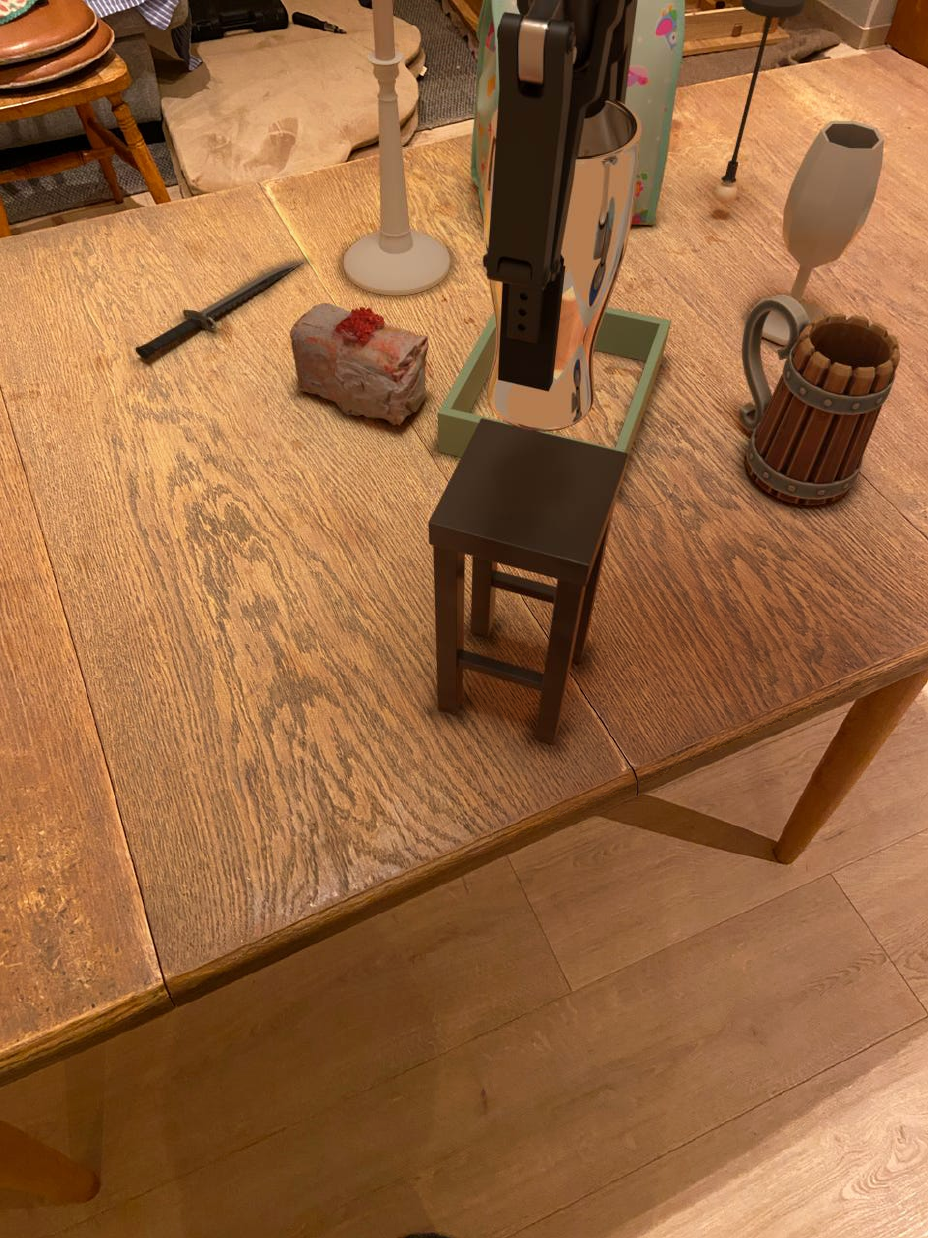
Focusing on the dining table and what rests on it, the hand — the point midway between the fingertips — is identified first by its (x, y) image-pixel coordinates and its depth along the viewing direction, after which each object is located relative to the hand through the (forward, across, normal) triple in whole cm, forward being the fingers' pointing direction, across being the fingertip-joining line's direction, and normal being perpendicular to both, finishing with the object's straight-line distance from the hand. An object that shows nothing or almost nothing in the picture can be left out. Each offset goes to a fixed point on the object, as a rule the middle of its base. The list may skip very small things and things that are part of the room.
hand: (546, 336), depth 48 cm
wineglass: (+33, -55, +15) cm, 66 cm away
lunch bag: (+32, -71, -16) cm, 80 cm away
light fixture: (+32, -75, +4) cm, 82 cm away
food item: (+32, -27, -25) cm, 49 cm away
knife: (+32, -36, -46) cm, 67 cm away
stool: (+32, +1, 0) cm, 32 cm away
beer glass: (+4, 0, 0) cm, 4 cm away
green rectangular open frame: (+32, -33, -6) cm, 47 cm away
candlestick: (+32, -51, -31) cm, 68 cm away
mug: (+33, -33, +17) cm, 50 cm away
